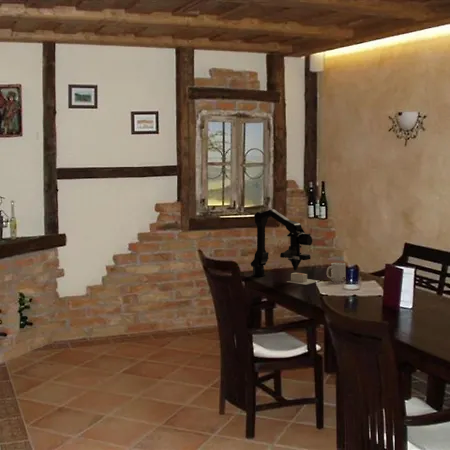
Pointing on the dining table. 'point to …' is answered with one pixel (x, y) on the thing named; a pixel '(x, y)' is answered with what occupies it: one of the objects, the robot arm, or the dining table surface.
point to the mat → (303, 282)
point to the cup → (337, 271)
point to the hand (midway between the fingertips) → (295, 270)
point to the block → (299, 277)
